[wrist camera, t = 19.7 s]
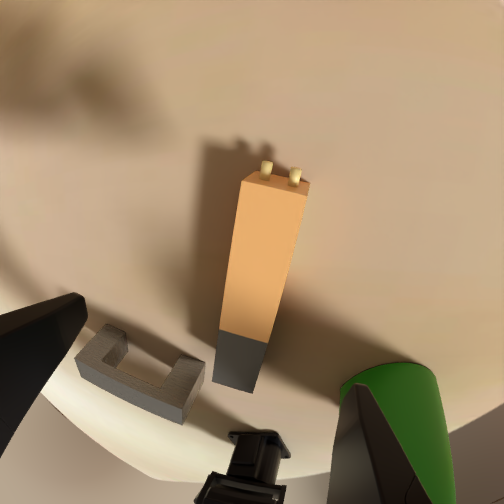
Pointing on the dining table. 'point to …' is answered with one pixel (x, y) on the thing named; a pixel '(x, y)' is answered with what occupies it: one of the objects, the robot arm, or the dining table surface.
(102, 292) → the dining table surface
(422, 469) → the green tall cylinder
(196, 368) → the housing
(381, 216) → the dining table surface
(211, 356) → the dining table surface
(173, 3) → the dining table surface
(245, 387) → the plug
